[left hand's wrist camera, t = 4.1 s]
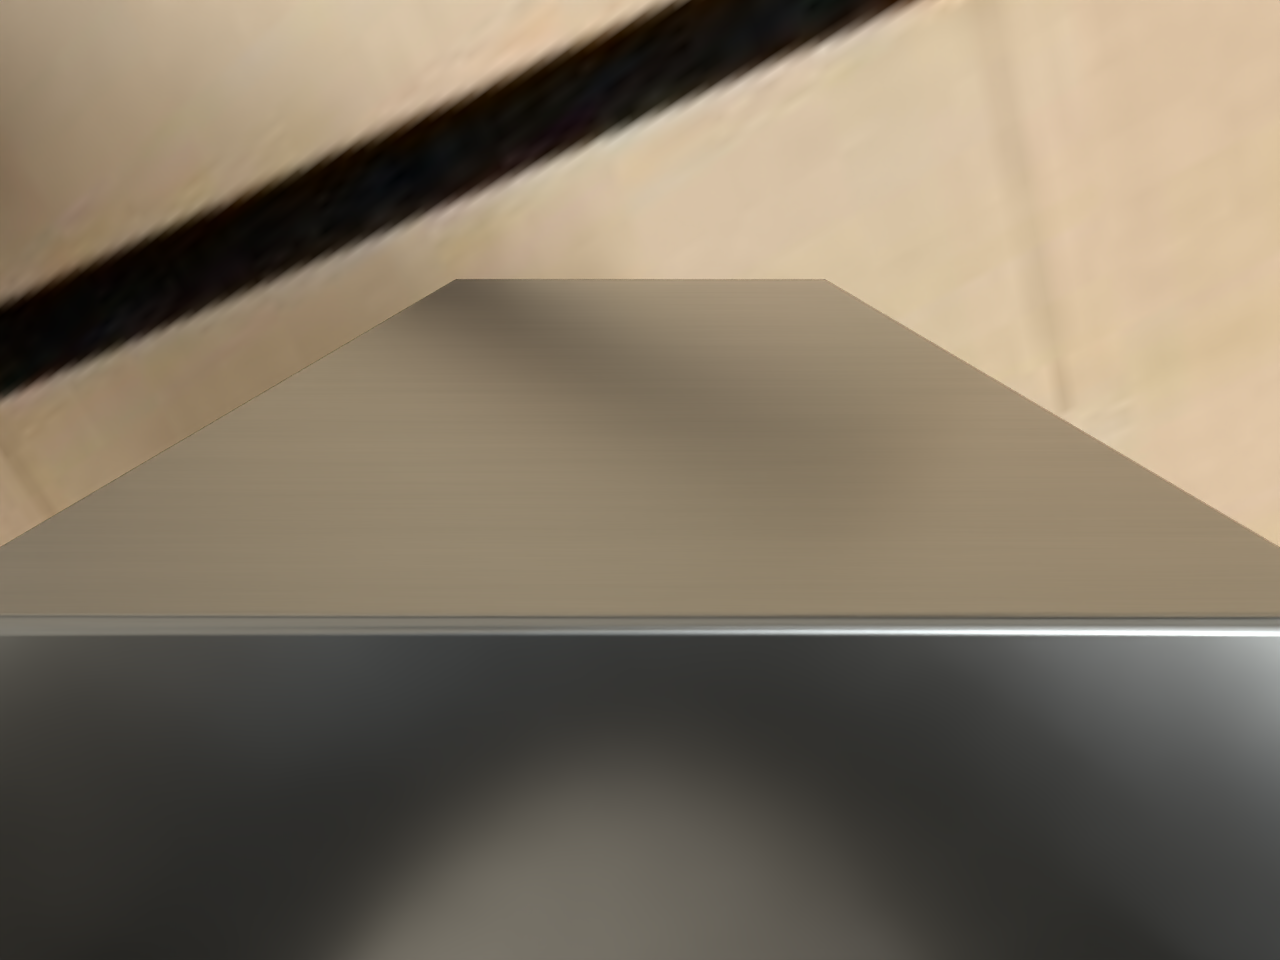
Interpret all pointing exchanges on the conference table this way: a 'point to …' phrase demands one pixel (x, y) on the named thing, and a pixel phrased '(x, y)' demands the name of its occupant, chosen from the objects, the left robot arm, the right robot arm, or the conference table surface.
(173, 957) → the box
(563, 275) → the conference table surface
